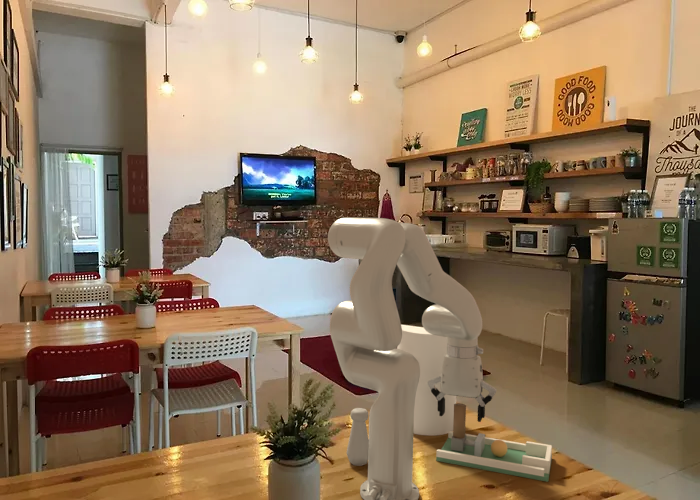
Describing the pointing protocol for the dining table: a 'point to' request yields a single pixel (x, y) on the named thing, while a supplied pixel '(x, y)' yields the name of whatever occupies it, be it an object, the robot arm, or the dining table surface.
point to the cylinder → (430, 361)
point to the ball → (499, 448)
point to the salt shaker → (358, 438)
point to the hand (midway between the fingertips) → (460, 417)
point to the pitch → (502, 458)
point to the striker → (459, 433)
